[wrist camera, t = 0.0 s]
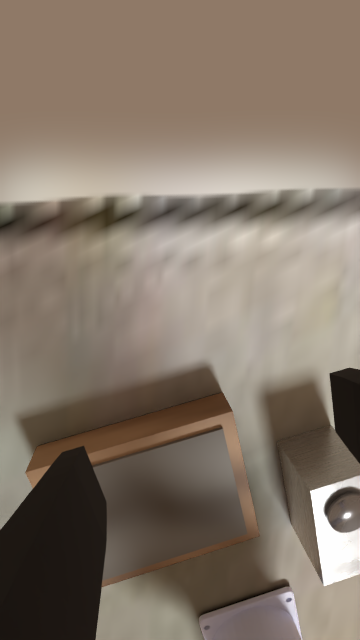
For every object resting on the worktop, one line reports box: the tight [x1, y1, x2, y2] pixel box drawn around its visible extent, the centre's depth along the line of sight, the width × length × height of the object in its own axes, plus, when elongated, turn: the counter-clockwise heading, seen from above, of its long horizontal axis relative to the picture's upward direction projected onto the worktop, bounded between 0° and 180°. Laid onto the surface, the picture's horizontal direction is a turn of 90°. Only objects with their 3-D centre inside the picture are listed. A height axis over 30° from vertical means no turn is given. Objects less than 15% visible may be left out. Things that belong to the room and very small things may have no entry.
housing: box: [277, 425, 360, 586], centre depth 21 cm, size 8×4×5 cm, turn 14°
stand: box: [25, 392, 260, 587], centre depth 20 cm, size 10×12×2 cm
